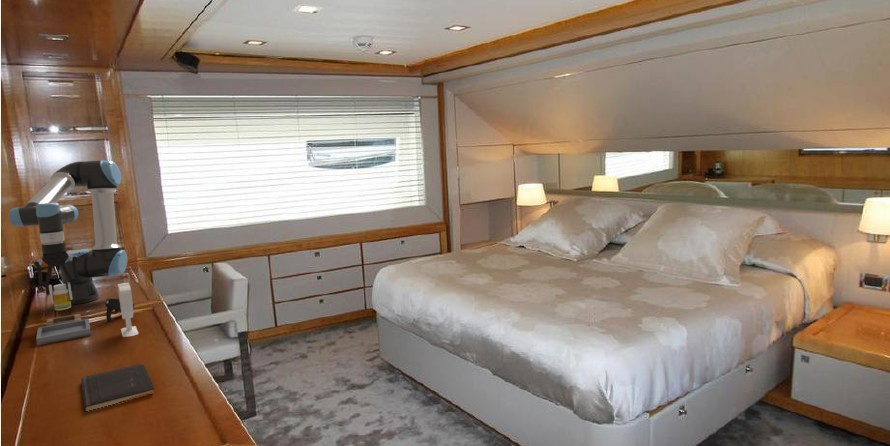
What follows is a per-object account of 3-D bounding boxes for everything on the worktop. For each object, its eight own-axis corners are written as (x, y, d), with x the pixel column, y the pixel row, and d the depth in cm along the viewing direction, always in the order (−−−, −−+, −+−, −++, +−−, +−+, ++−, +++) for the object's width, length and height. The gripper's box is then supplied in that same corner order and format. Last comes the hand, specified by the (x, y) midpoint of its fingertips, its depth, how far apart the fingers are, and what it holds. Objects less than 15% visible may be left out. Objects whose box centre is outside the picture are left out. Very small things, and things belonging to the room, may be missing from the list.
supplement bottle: (55, 308, 212) (52, 284, 211) (72, 305, 215) (68, 282, 213) (54, 311, 208) (50, 287, 206) (70, 309, 210) (67, 285, 209)
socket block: (47, 325, 213) (47, 319, 213) (81, 319, 219) (80, 313, 219) (47, 332, 204) (46, 325, 204) (81, 325, 210) (80, 319, 210)
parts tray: (39, 333, 202) (38, 327, 202) (89, 324, 211) (88, 318, 211) (37, 345, 189) (36, 338, 189) (91, 335, 198) (90, 328, 198)
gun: (133, 325, 226) (137, 302, 230) (106, 319, 211) (112, 294, 214) (126, 326, 227) (131, 302, 230) (99, 319, 211) (105, 294, 215)
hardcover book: (144, 370, 164) (143, 363, 164) (155, 396, 146) (154, 388, 146) (81, 384, 155) (80, 377, 155) (85, 414, 137) (84, 406, 136)
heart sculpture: (139, 335, 196) (133, 287, 194) (123, 338, 193) (117, 290, 191) (135, 324, 209) (129, 280, 207) (120, 327, 206) (114, 282, 204)
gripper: (22, 247, 199) (32, 307, 203) (81, 240, 209) (90, 297, 213) (23, 244, 205) (33, 303, 209) (81, 238, 215) (89, 293, 219)
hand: (61, 300), depth 211 cm, fingers closed on supplement bottle, 5 cm apart
